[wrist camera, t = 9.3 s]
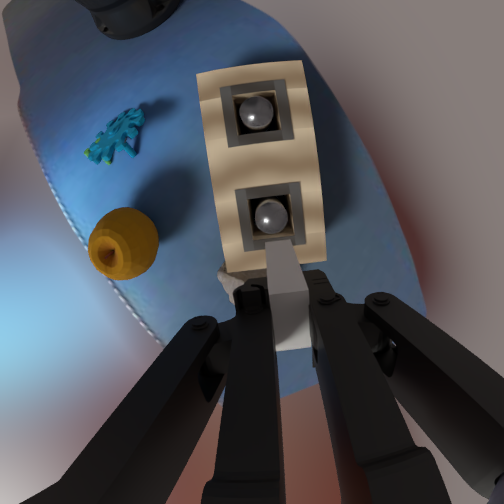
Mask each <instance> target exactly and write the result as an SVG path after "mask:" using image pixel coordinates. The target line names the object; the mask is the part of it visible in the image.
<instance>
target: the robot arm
mask: <svg viewBox="0 0 504 504" xmlns="http://www.w3.org/2000/svg"><path fill="white" fill-rule="evenodd" d="M75 1H76V2H78V3H79V4H81V5H82V6H84V7H85V8H87V9H88V10H89V11H90V13H91V15H92V17H93V19H94V22H95V24H96V26H97V28H98V29H99V31H100V32H102V33H103V34H105V35H106V36H107V37H109V38H112V39H116V40H125V39H131V38H135V37H138V36H140V35H143V34H145V33H147V32H149V31H151V30H153V29H154V28H156V27H157V26H159V25H160V24H161V23H163V22H164V21H165V20H166V19H167V18H168V17H169V16H170V15H171V14H172V13H173V12H174V10H175V9H176V7H177V6H178V4H179V1H180V0H75ZM265 249H266V265H267V277H260V278H251V279H248V280H247V281H246V282H245V283H244V284H243V285H241V286H239V287H237V288H236V289H234V291H233V298H234V303H235V308H236V316H235V317H234V318H232V319H230V320H228V321H225V322H221V323H217V320H216V319H215V318H214V317H212V316H198V317H194V318H192V319H190V320H188V321H187V322H186V323H185V324H184V325H183V326H182V328H181V329H180V330H179V331H178V332H177V334H176V335H175V336H174V337H173V339H172V340H171V341H170V342H169V344H168V345H167V346H166V347H165V348H164V350H163V351H162V352H161V353H160V355H159V356H158V357H157V358H156V360H155V361H154V362H153V364H152V365H151V366H150V367H149V368H148V370H147V371H146V372H145V373H144V374H143V376H142V377H141V378H140V379H139V381H138V382H137V383H136V384H135V386H134V387H133V388H132V390H131V391H130V392H129V393H128V394H127V396H126V397H125V398H124V399H123V401H122V402H121V403H120V404H119V406H118V407H117V408H116V409H115V411H114V412H113V413H112V414H111V416H110V417H109V418H108V419H107V421H106V422H105V423H104V424H103V426H102V427H101V428H100V429H99V431H98V432H97V433H96V434H95V436H94V437H93V438H92V439H91V441H90V442H89V443H88V444H87V446H86V447H85V448H84V450H83V451H82V452H81V454H80V455H79V456H78V457H77V458H76V460H75V461H74V462H73V464H72V465H71V466H70V467H69V468H68V470H67V471H66V472H65V474H64V475H63V476H62V478H61V479H60V480H59V481H58V482H56V483H55V484H53V485H51V486H49V487H48V488H46V489H44V490H43V491H41V492H40V493H38V494H36V495H34V496H32V497H30V498H29V499H27V500H25V501H23V502H21V503H19V504H165V503H166V501H167V499H168V497H169V496H170V494H171V492H172V490H173V488H174V486H175V485H176V483H177V481H178V479H179V477H180V475H181V473H182V471H183V469H184V468H185V466H186V464H187V462H188V459H189V458H190V456H191V454H192V452H193V450H194V448H195V446H196V444H197V442H198V440H199V438H200V437H201V435H202V432H203V431H204V428H205V427H206V425H207V423H208V421H209V418H210V416H211V414H212V412H213V410H214V408H215V406H216V404H217V402H218V400H219V398H220V396H221V394H222V392H223V390H224V388H225V394H224V402H223V410H222V416H221V424H220V431H219V439H218V447H217V454H216V462H215V470H214V475H213V478H212V479H211V480H210V481H208V482H207V483H206V484H205V486H204V489H203V493H202V499H201V504H286V494H285V473H284V455H283V439H282V423H281V408H280V393H279V379H278V366H277V355H276V351H283V350H291V349H299V348H306V347H311V342H312V358H313V368H314V367H315V368H316V372H317V376H318V381H319V385H320V390H321V395H322V399H323V404H324V409H325V413H326V418H327V423H328V428H329V433H330V437H331V443H332V448H333V453H334V459H335V464H336V469H337V475H338V481H339V486H340V493H341V504H452V503H451V501H450V498H449V495H448V492H447V489H446V487H445V484H444V481H443V479H442V476H441V474H440V471H439V469H438V466H437V464H436V461H435V459H434V457H433V455H432V453H431V452H430V450H428V449H427V448H426V447H418V446H416V445H415V443H414V441H413V439H412V437H411V434H410V432H409V429H408V427H407V425H406V423H405V420H404V418H403V415H402V413H401V411H400V409H399V407H398V404H397V402H396V400H395V398H396V399H397V400H398V402H399V403H400V404H401V405H402V406H403V407H404V409H405V410H406V411H407V412H408V413H409V414H410V416H411V417H412V418H413V419H414V420H415V422H416V423H417V424H418V425H419V426H420V427H421V429H422V430H423V431H424V432H425V433H426V435H427V436H428V437H429V438H430V439H431V441H432V442H433V443H434V444H435V445H436V446H437V448H438V449H439V450H440V451H441V453H442V454H443V455H444V456H445V457H446V459H447V460H448V461H449V462H450V463H451V465H452V466H453V467H454V468H455V470H456V471H457V472H458V473H459V475H460V476H461V477H462V478H463V479H464V480H465V481H466V483H468V485H469V486H470V487H471V488H472V489H474V490H475V491H476V492H477V493H479V494H480V495H481V496H483V497H485V498H487V499H489V502H488V503H487V504H504V378H503V377H502V376H500V375H499V374H498V373H497V372H495V371H494V370H493V369H492V368H490V367H489V366H488V365H487V364H485V363H484V362H483V361H482V360H481V359H479V358H478V357H477V356H475V355H474V354H473V353H471V352H470V351H469V350H468V349H466V348H465V347H464V346H463V345H461V344H460V343H459V342H457V341H456V340H455V339H453V338H452V337H450V336H449V335H448V334H447V333H445V332H444V331H443V330H441V329H440V328H438V327H437V326H436V325H435V324H433V323H432V322H430V321H429V320H428V319H426V318H425V317H424V316H422V315H421V314H419V313H418V312H417V311H415V310H414V309H412V308H411V307H410V306H408V305H407V304H405V303H404V302H402V301H401V300H400V299H398V298H397V297H395V296H394V295H392V294H389V293H385V292H376V293H372V294H370V295H368V296H367V297H366V298H365V304H352V303H347V302H346V300H345V299H344V297H343V296H342V295H340V294H338V293H335V291H334V290H333V288H332V286H331V284H330V282H329V280H328V279H327V276H326V274H325V273H324V272H322V271H321V270H319V269H317V270H309V271H302V270H301V267H300V264H299V261H298V259H297V256H296V253H295V251H294V248H293V245H292V242H291V240H290V239H288V240H280V241H272V242H265ZM392 341H393V342H394V343H395V344H396V346H395V345H394V344H393V343H392ZM225 386H226V387H225ZM394 397H395V398H394Z"/></svg>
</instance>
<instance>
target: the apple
mask: <svg viewBox="0 0 504 504" xmlns="http://www.w3.org/2000/svg"><path fill="white" fill-rule="evenodd" d="M158 247H159V237H158V232H157V229H156V227H155V225H154V223H153V222H152V221H151V219H150V218H149V217H148V216H146V215H145V214H144V213H142V212H141V211H139V210H136V209H133V208H129V207H122V208H118V209H114V210H112V211H111V212H109V213H107V214H106V215H105V216H104V217H103V218H102V219H101V220H100V221H99V222H98V223H97V225H96V227H95V228H94V230H93V231H92V233H91V235H90V237H89V244H88V253H89V257H90V260H91V262H92V263H93V265H94V266H95V267H96V269H97V270H98V271H99V272H101V273H102V274H104V275H105V276H107V277H108V278H111V279H113V280H128V279H132V278H135V277H137V276H139V275H141V274H142V273H144V272H146V271H147V270H148V269H149V268H150V267H151V265H152V264H153V262H154V261H155V258H156V255H157V251H158Z"/></svg>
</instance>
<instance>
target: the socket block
mask: <svg viewBox="0 0 504 504" xmlns="http://www.w3.org/2000/svg"><path fill="white" fill-rule="evenodd" d="M196 76H197V84H198V92H199V99H200V107H201V114H202V121H203V128H204V135H205V142H206V148H207V155H208V162H209V168H210V174H211V181H212V187H213V193H214V199H215V205H216V211H217V217H218V223H219V229H220V234H221V240H222V246H223V251H224V257H225V262H226V267H227V273H230V272H239V271H247V270H256V269H264V268H267V265H266V249H265V242H272V241H280V240H288V239H290V240H291V242H292V245H293V248H294V251H295V253H296V256H297V259H298V261H299V264H304V263H312V262H319V261H327V259H326V240H325V226H324V213H323V201H322V191H321V181H320V172H319V163H318V155H317V147H316V140H315V133H314V126H313V119H312V113H311V107H310V101H309V95H308V90H307V84H306V79H305V74H304V69H303V64H302V60H298V61H281V62H269V63H260V64H251V65H244V66H237V67H230V68H225V69H219V70H214V71H209V72H204V73H199V74H196ZM254 96H259V97H263V98H265V99H267V100H268V101H269V102H270V103H271V105H272V107H273V114H274V120H275V127H276V131H268V132H259V133H252V134H245V135H241V129H240V122H239V116H238V109H240V107H241V105H242V103H243V102H244V101H245V100H246V99H248V98H250V97H254ZM277 195H285V201H286V209H287V216H288V221H287V223H286V226H285V227H284V228H283V229H282V230H281V231H280V232H278V233H274V234H269V233H265V232H263V231H261V230H260V229H259V228H258V226H257V225H254V218H253V211H252V204H251V199H253V198H261V197H269V196H277Z"/></svg>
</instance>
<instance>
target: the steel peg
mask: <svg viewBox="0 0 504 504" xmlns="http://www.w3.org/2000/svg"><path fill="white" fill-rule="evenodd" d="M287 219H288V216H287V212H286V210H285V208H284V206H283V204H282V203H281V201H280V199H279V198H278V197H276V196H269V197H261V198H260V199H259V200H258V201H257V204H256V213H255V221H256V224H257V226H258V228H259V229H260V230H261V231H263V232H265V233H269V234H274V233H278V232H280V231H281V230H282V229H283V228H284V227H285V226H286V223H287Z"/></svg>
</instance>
